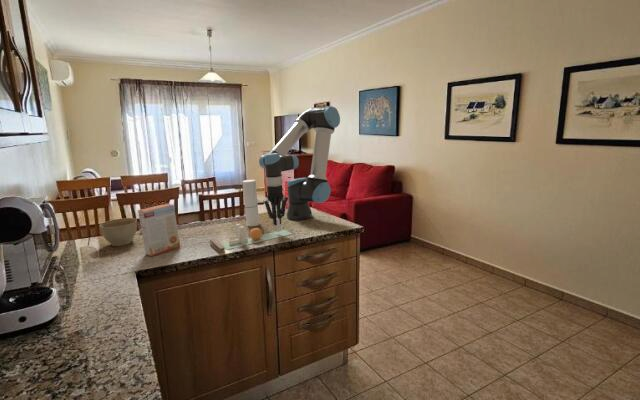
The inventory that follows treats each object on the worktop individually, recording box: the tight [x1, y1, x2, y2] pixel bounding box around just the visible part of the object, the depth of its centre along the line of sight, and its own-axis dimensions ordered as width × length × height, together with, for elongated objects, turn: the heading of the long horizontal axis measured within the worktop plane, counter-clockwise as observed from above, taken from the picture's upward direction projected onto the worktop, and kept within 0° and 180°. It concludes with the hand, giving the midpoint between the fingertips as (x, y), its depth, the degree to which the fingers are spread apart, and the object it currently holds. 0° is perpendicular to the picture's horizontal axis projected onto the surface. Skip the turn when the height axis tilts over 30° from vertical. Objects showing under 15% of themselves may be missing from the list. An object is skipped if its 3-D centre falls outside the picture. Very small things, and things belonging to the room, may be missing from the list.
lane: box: [220, 229, 293, 250], centre depth 168 cm, size 34×9×1 cm, turn 123°
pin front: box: [228, 236, 249, 246], centre depth 163 cm, size 2×2×8 cm
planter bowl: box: [99, 217, 138, 247], centre depth 171 cm, size 16×16×11 cm
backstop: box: [209, 238, 226, 254], centre depth 158 cm, size 2×16×2 cm, turn 33°
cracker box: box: [137, 203, 181, 257], centre depth 156 cm, size 14×6×21 cm, turn 141°
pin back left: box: [239, 225, 247, 246], centre depth 161 cm, size 2×2×8 cm
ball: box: [249, 227, 263, 240], centre depth 167 cm, size 6×6×6 cm
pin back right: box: [235, 223, 242, 239], centre depth 165 cm, size 2×2×8 cm
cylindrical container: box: [242, 179, 260, 227], centre depth 191 cm, size 7×7×25 cm
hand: (277, 230), depth 174 cm, fingers closed
